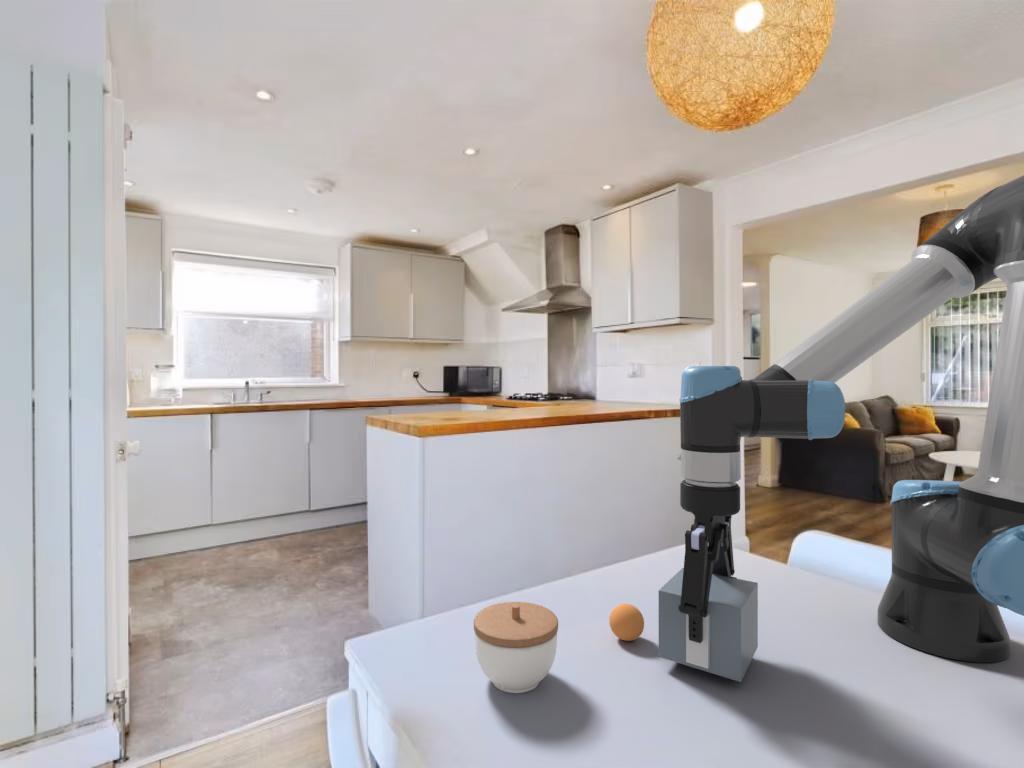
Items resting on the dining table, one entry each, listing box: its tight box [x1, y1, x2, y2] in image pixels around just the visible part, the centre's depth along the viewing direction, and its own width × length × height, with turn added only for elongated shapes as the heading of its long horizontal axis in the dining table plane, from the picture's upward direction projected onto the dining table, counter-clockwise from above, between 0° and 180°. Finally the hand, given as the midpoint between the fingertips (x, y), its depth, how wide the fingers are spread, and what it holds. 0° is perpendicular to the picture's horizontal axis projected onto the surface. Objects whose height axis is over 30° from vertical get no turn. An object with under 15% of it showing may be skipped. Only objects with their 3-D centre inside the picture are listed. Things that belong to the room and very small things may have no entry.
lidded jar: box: [473, 601, 559, 694], centre depth 67 cm, size 11×11×9 cm
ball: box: [608, 603, 645, 642], centre depth 78 cm, size 5×5×5 cm
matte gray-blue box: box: [658, 567, 759, 683], centre depth 71 cm, size 10×10×9 cm
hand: (709, 646), depth 71 cm, fingers closed on matte gray-blue box, 10 cm apart
